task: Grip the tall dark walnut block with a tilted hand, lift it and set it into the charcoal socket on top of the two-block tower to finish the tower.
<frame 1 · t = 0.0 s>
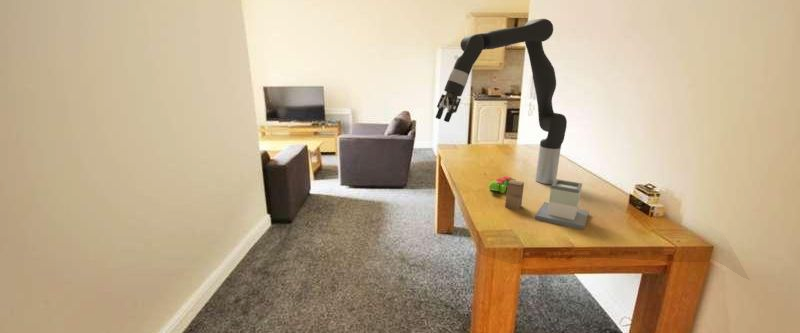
hand: (441, 120, 149), 31 cm above the table, tool tilted 20°, fingers open, 8 cm apart
walnut brick: (513, 206, 142), on the table
tower: (562, 216, 133), on the table
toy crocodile: (501, 190, 162), on the table
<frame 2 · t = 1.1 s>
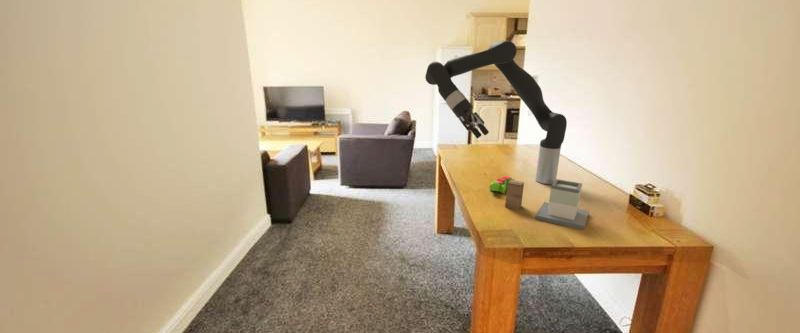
hand: (483, 135, 142), 27 cm above the table, tool tilted 45°, fingers open, 8 cm apart
nothing on the table moved.
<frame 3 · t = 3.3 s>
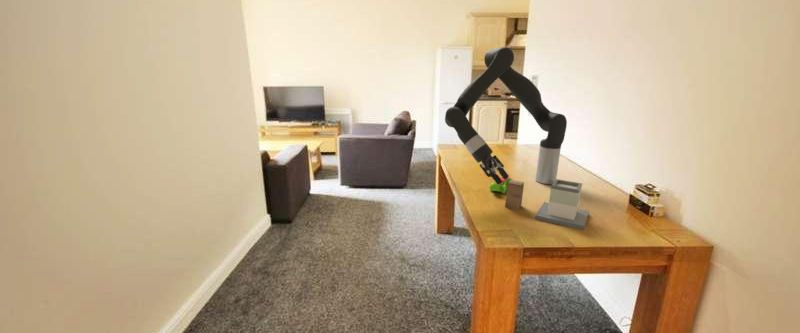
hand: (503, 180, 142), 10 cm above the table, tool tilted 45°, fingers open, 8 cm apart
nothing on the table moved.
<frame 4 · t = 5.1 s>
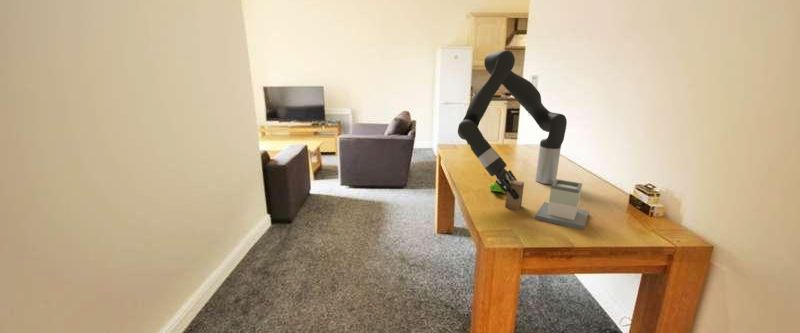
hand: (519, 196, 140), 5 cm above the table, tool tilted 45°, fingers closed on walnut brick, 5 cm apart
walnut brick: (513, 206, 142), on the table, touching gripper
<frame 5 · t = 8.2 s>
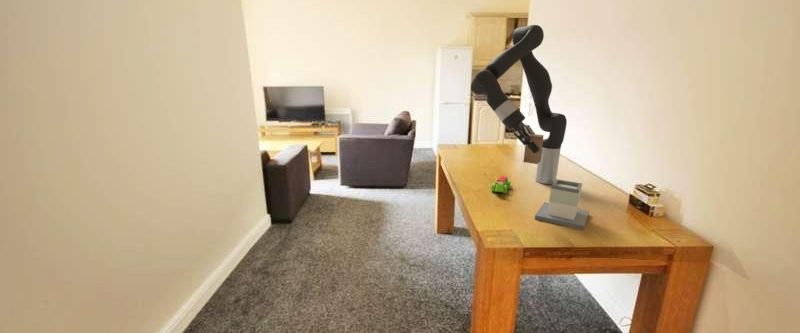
hand: (538, 150, 132), 24 cm above the table, tool tilted 45°, fingers closed on walnut brick, 5 cm apart
walnut brick: (531, 161, 134), point 19 cm above the table, touching gripper
when the fingers open (17 cm above the table, at t = 11.4 s): walnut brick stays where it is, resting on tower.
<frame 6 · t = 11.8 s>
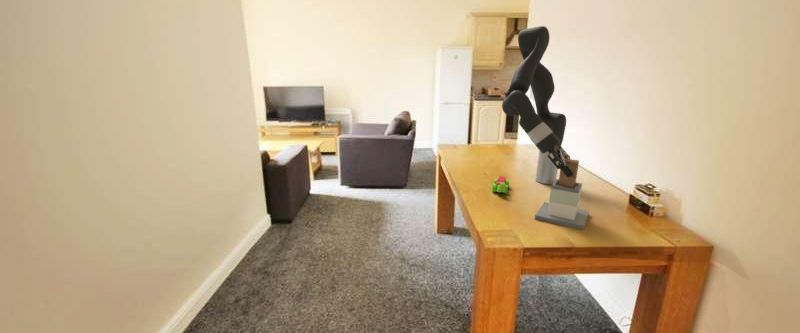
hand: (572, 173, 127), 17 cm above the table, tool tilted 45°, fingers open, 8 cm apart
walnut brick: (566, 187, 130), point 11 cm above the table, touching tower
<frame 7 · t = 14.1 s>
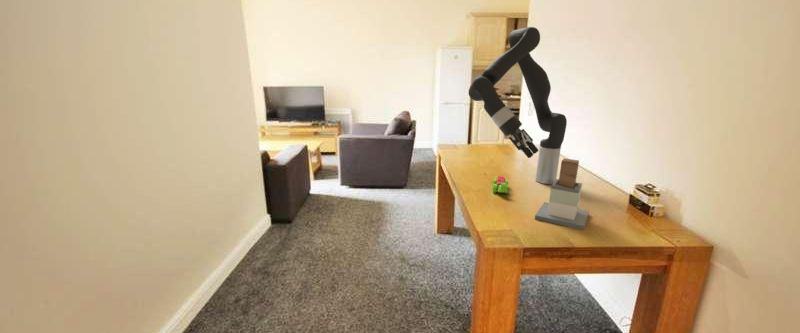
hand: (534, 154, 134), 22 cm above the table, tool tilted 45°, fingers open, 8 cm apart
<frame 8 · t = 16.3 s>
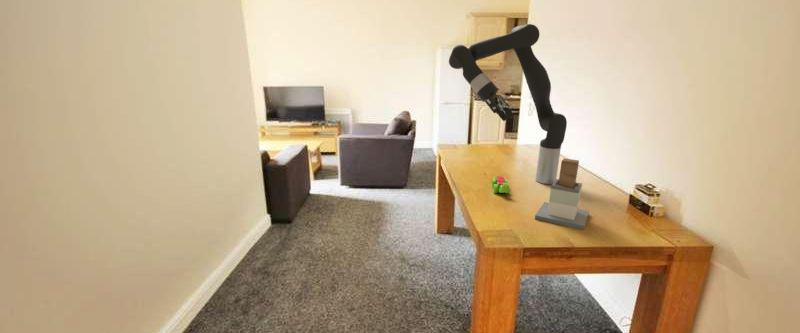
hand: (509, 118, 141), 34 cm above the table, tool tilted 45°, fingers open, 8 cm apart
at the end: walnut brick 0.0 cm off-centre on the tower, point 11.5 cm above the tower's base; walnut brick tilted 0°; the gripper is holding nothing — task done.
